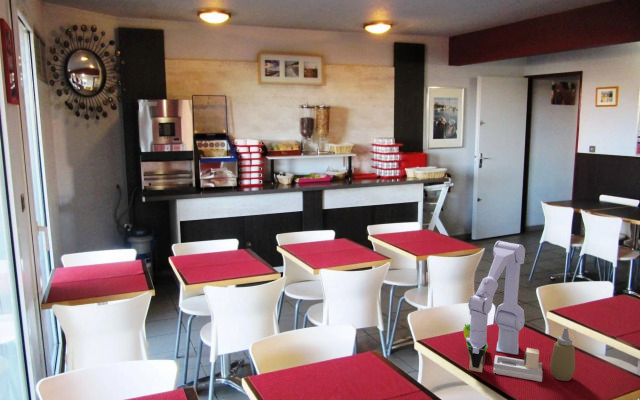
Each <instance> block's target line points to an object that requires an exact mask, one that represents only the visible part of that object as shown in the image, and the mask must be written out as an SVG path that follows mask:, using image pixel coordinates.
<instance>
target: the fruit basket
mask: <svg viewBox="0 0 640 400" xmlns="http://www.w3.org/2000/svg"><path fill="white" fill-rule="evenodd" d="M470 324H471V323H470ZM470 324H469V323H468V324H466V323H465V324H464V326H463V327H462V329H463V336H464V337H463V338H464V339H465V341H466V338H470ZM466 346H467V347H466V348H467V349H468V348H469V347H471V344H470V343H469V342H467V341H466ZM488 347H489V346H488V343H487V344H486V347H485V348H484V350H485V353H486V351H487V349H488ZM467 352H468V357H469V358H470V353H469V351H468V350H467Z"/></svg>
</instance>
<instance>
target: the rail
mask: <svg viewBox="0 0 640 400" xmlns="http://www.w3.org/2000/svg"><path fill="white" fill-rule="evenodd" d="M539 357H540V349H538V348H531V347H526V350H525V351H524V358H523V359H520V358H514V357H508V356H502V355H496V354H495V355H494V359H493V360H494V361H493V371H492V373H493V374H495V373H496V374H497V375H500V376H501V375H502V376H508V377H512V378H518V379H524V380H531V381H535V382H539V383H540V382H541V383H542V382H543V362H539V359H540V358H539Z"/></svg>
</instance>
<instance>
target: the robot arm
mask: <svg viewBox="0 0 640 400" xmlns="http://www.w3.org/2000/svg"><path fill="white" fill-rule="evenodd" d="M492 254H493V260H492V263H491V266H490V269H489V270H488V274H487V276H485V277H483V278H482V280H481V282H480V284H479V285H478V289H477V290H476V291H475V294H474V295H471V296H470V298H469V299H468V300H469V301H468V305H467V306H468V309H469V316H470V338H466V339H465V341H467V342H469V343H470V344H471V347H469V348H468V347H467V352H468V351H469V352H468V354H469V353H470V356H471V360H472V366H473V367H475V368H479V366H480V362H481V358H482V356H483V355H484V353H485V354H486V352H485V350H480V349H484V348H485V347H486V344H487V345H488V341H487V332H488V319H489V313H490V312H491V310H492V307H493V302H494V299H493V298H494V296H495V293H496V291H497V289H498V287H499V283H498V282H497V281H498V280H499V278H500V276H501V275H502V274H503V272H504V270H505V278H504V279H505V281H504V294H503V302H502V303H501V304H499V305H498V306H497V307H496V311H495V314H494V315H495V316H494V320H495V323H496V324H497V328H498V341H497V343H496V350H495V351H496V352H499V353H505V354H511V355H516V356H517V355H519V348H520V347H519V345H520V344H519V334H520V331H521V330H522V329H523V328H524V326H525V322H526V318H525V310H524V309H523V308H522V306H520V305H519V304H518V300H519V299H518V297H519V288H520V287H519V286H520V285H519V284H520V273H521V272H520V271H521V265H524V264H525V254H526V248H525V247H524V245H523V244H518V243H513V242H507V241H503V240H497V241H496V242H495V244H494V245H493V250H492ZM467 342H466V343H467ZM472 347H473V348H472Z"/></svg>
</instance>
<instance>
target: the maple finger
mask: <svg viewBox="0 0 640 400" xmlns="http://www.w3.org/2000/svg"><path fill="white" fill-rule="evenodd" d="M472 348H473V347H472ZM480 350H484V349H480ZM485 359H486V352H485V353H484V355H483V356H482V358H481V362H480V366H479V368H475V367H473V366H472V360H471V356H470V357H469V365H468V366H469V367H468V370H469V371H471V372H478V373H483V368H484V366H485V361H486V360H485Z"/></svg>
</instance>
